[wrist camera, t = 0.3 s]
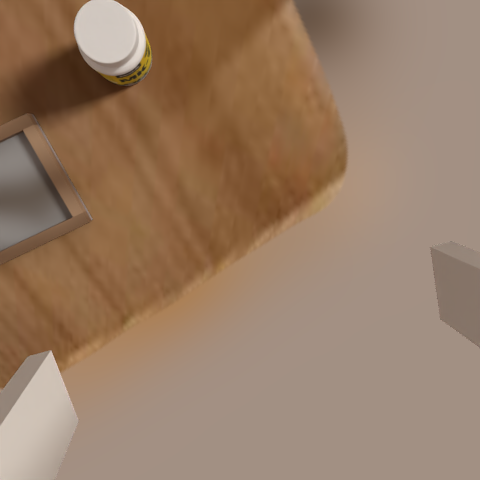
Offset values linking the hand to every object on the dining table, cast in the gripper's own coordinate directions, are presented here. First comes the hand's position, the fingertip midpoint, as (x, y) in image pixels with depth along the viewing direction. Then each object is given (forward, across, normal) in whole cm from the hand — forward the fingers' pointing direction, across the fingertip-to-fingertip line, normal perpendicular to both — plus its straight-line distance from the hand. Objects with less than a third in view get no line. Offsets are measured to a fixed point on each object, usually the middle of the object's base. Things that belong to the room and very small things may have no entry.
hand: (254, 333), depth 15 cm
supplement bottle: (+26, -4, +14) cm, 30 cm away
